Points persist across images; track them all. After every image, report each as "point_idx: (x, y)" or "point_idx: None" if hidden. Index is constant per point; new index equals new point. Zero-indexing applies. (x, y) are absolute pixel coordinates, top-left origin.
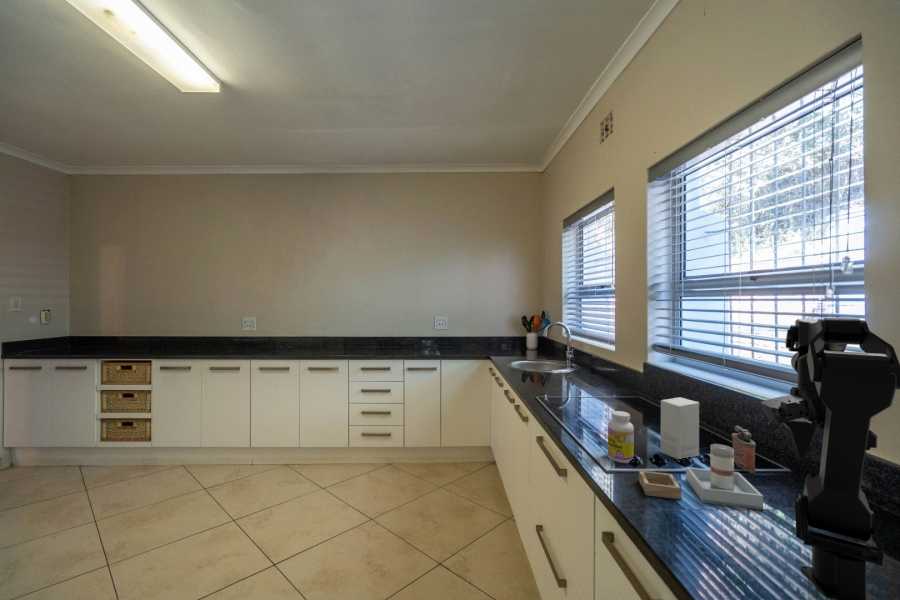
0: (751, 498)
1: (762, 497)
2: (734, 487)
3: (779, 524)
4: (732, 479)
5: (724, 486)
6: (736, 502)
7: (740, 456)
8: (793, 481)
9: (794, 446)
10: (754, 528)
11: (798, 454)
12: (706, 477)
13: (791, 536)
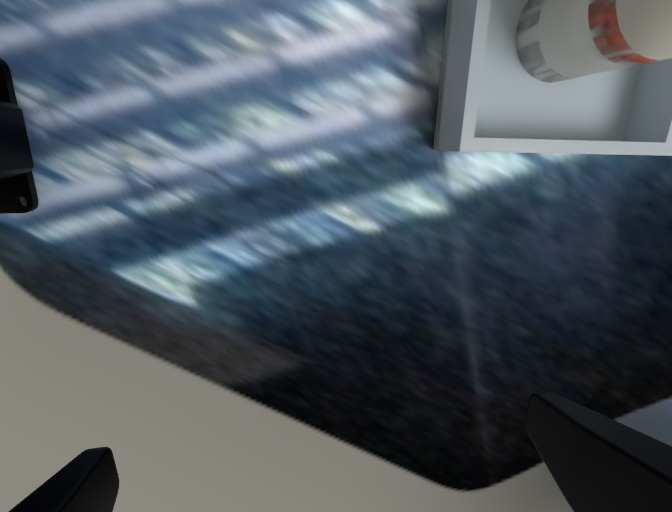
0: (457, 102)
1: (455, 147)
2: (588, 111)
3: (336, 157)
4: (577, 47)
5: (547, 9)
6: (450, 40)
7: None
8: (642, 357)
9: (639, 434)
10: (275, 32)
11: (547, 402)
12: None
13: (257, 156)
